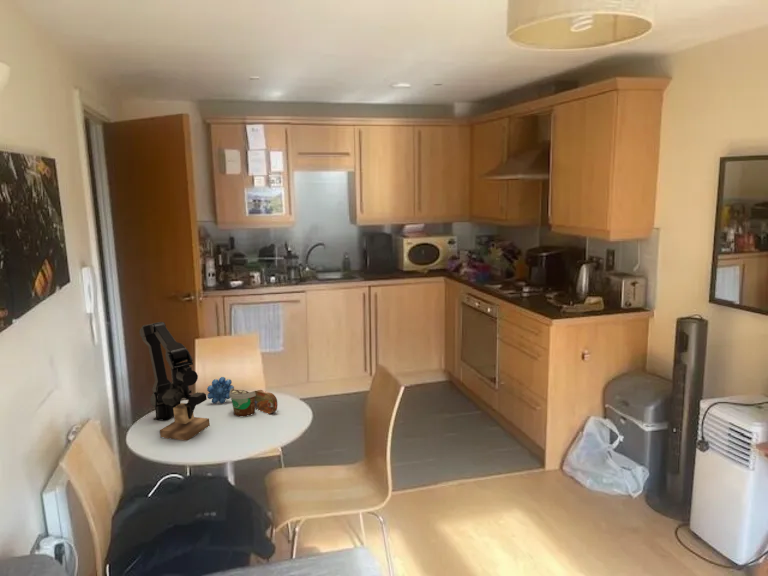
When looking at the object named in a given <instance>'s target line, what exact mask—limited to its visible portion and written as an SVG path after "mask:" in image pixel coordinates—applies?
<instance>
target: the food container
mask: <svg viewBox="0 0 768 576" xmlns="http://www.w3.org/2000/svg"><path fill="white" fill-rule="evenodd" d="M255 391H256V390H253V391H247V390H243V389H242V390H241V389H235V387H234V388H232V389H231V390H230V393H229V397H230V399H231V403H232V409H233V410H232V411H233V414H234V416H236V417H240V416H243V417H248V416H247V415H249V416H252V415H251V414H253V415H254V413H255V412H256V409H255V396H256V394H255Z"/></svg>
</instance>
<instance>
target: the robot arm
mask: <svg viewBox="0 0 768 576" xmlns="http://www.w3.org/2000/svg"><path fill="white" fill-rule="evenodd" d="M139 336H140V338H141V340H142V342H143V343H144V344H145V345H146V346H147V347H148V348H147V349H148V353H149V356H150V357H149V358H150V361H151V363H150V364H151V365H152V366H151V367H152V372H153V378H154V384H153V385H152V386H153V387H151V388H152V394H151V396H150V399H149V400H150V405H151V406H153V407H154V408H155V417H153V420H155V421H156V420H157V421H165V422H167V421H169V420H171V419H172V418H174V410H173V408H174V407H176V406H177V405H179V404H181V403H182V402H181V400H183V401H187V402H185V403H186V404H184V405H185V406H186V407H187V413H188V418H189V419H191V417H192V414H194V413H195V412H194V411H195V409H196V406H197V405H201V404H202V403H204V402H205V401H207V399H208V397H207V394H206V393H205V392H198V391H197V392H195V393H193V392H192V390H191V389H190V387H189V386H193V385H195V384H196V383H197V381H198V378H199V375H198V373H197V372H196V370H193V369H192V365H194V362H193V360H194V359H193V357H192V355H191V354H190V351H189V350H188V349H187V348H186V346H185V345H183V344H182V343H181V342H178V341H176V339H175V338H174V336H173V335H172V333H171V332H170V331H169V330H168V328H167V326H166V323H165V322H164V321H159V322H153V323H149V324H143V325H142V326H141V328H140V329H139ZM162 347H163V349H164V350H165V361H166V362H167V363H168V367H170V373H171V374H170V375H171V381H170V380H169V379H168V375H167V370H166V367H165V362H164V356H163V355H164V354H163V351H162ZM192 393H193V394H192Z"/></svg>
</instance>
